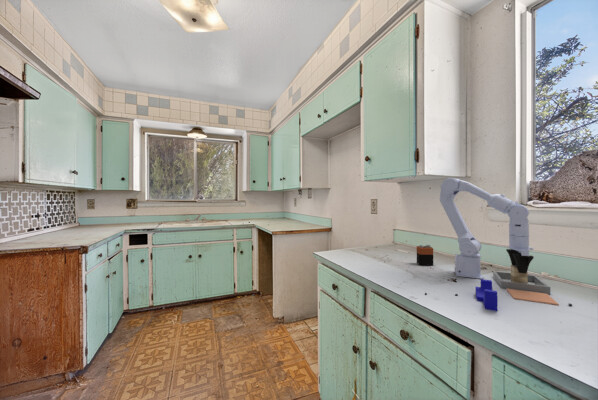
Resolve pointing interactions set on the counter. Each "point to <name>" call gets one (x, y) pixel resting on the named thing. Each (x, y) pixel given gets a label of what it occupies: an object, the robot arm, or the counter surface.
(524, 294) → the place mat
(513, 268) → the part block
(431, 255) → the battery
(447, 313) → the counter surface
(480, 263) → the robot arm
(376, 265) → the counter surface
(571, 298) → the counter surface
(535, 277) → the parts tray
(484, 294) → the cable clip
